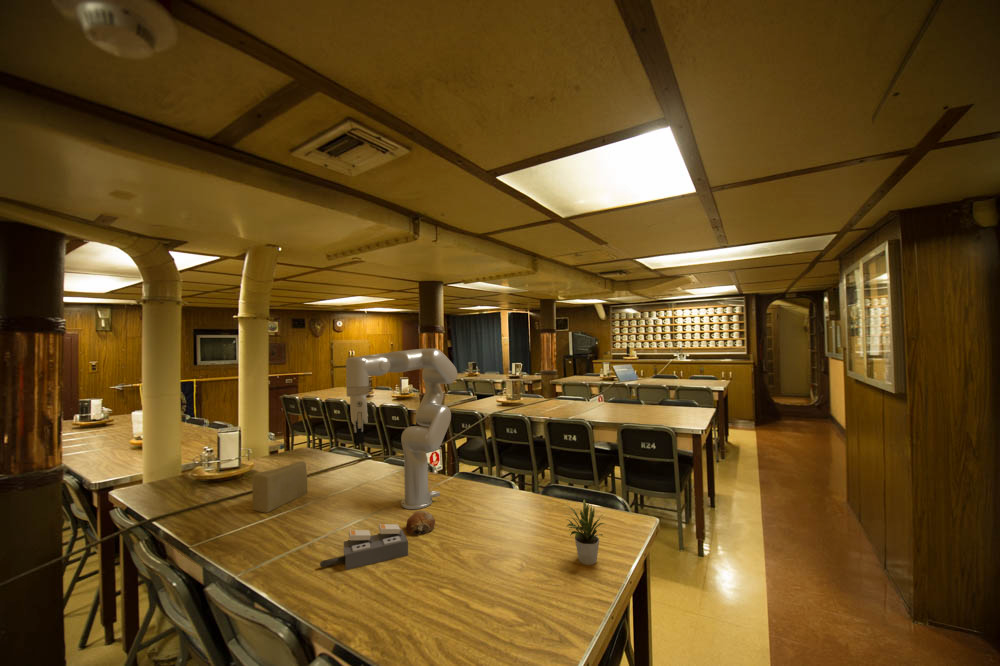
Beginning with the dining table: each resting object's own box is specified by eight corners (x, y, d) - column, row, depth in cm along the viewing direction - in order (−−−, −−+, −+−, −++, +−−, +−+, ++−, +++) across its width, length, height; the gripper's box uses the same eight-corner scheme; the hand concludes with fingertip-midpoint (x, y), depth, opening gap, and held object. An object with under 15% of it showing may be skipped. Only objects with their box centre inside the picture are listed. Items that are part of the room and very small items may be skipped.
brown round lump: (437, 537, 143) (441, 513, 146) (424, 536, 134) (428, 510, 138) (413, 534, 146) (417, 510, 149) (398, 533, 137) (404, 507, 141)
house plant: (558, 546, 126) (557, 494, 127) (602, 545, 126) (600, 493, 127) (564, 571, 112) (562, 512, 113) (614, 571, 112) (612, 511, 112)
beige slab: (299, 492, 183) (298, 459, 184) (314, 495, 179) (313, 461, 180) (251, 510, 163) (251, 473, 164) (266, 513, 159) (266, 475, 160)
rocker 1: (368, 534, 127) (369, 529, 127) (369, 540, 123) (370, 535, 123) (348, 534, 124) (349, 529, 125) (349, 540, 121) (350, 535, 121)
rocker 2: (397, 528, 131) (398, 524, 131) (399, 533, 127) (400, 528, 127) (378, 528, 128) (379, 523, 128) (380, 533, 125) (381, 528, 125)
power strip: (402, 542, 132) (402, 527, 132) (408, 555, 123) (407, 538, 124) (319, 561, 121) (319, 544, 121) (320, 576, 113) (319, 558, 113)
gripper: (371, 392, 137) (372, 446, 137) (366, 389, 151) (367, 438, 150) (348, 394, 134) (349, 449, 133) (344, 390, 148) (345, 440, 147)
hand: (358, 443), depth 142 cm, fingers closed
